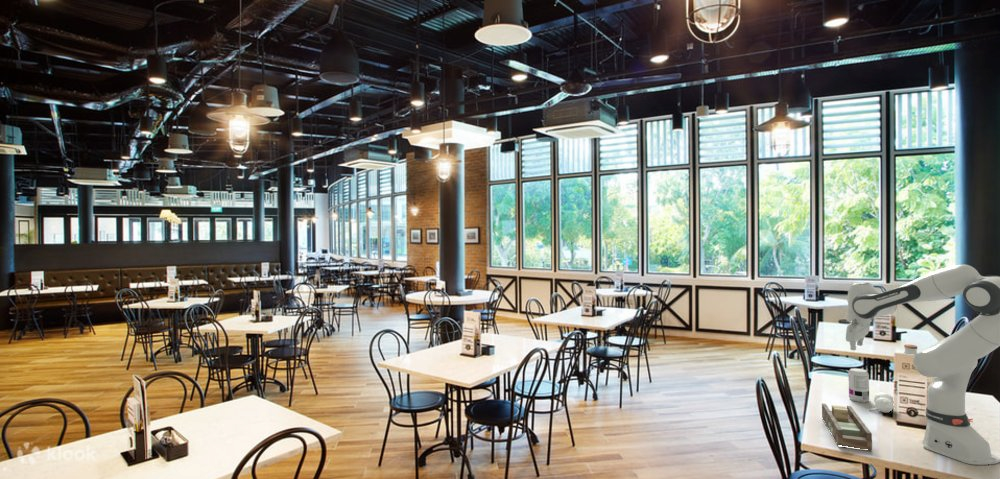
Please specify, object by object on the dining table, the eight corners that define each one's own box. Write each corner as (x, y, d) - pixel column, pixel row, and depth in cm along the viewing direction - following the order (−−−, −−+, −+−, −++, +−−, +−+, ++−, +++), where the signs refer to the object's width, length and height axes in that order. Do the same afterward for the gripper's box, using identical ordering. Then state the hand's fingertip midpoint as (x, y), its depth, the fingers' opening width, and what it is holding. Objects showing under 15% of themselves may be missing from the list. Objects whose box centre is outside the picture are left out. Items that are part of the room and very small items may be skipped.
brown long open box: (822, 418, 227) (821, 403, 227) (851, 421, 222) (850, 405, 222) (838, 447, 197) (838, 429, 197) (872, 451, 193) (871, 433, 193)
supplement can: (845, 399, 251) (844, 369, 251) (855, 396, 254) (854, 367, 254) (862, 403, 244) (862, 373, 243) (872, 401, 247) (872, 370, 247)
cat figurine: (886, 395, 228) (887, 387, 237) (862, 403, 234) (864, 395, 243) (899, 413, 226) (900, 404, 235) (875, 421, 232) (876, 412, 241)
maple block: (831, 414, 221) (831, 405, 221) (845, 415, 219) (845, 406, 219) (834, 418, 217) (834, 408, 217) (848, 419, 215) (847, 410, 215)
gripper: (859, 323, 215) (857, 354, 216) (873, 315, 228) (871, 344, 229) (842, 320, 220) (840, 351, 221) (857, 312, 233) (855, 341, 234)
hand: (856, 347), depth 225 cm, fingers open, 8 cm apart
